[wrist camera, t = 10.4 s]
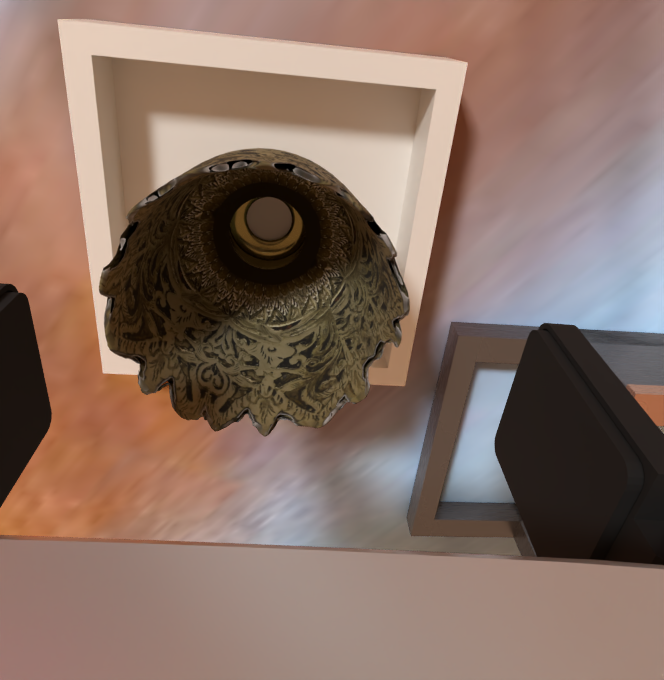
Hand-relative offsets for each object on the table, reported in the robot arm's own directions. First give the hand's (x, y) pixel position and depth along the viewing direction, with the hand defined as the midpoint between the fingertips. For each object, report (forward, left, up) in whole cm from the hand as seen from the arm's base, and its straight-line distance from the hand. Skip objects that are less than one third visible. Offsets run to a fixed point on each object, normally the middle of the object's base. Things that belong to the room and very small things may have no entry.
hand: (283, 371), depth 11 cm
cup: (+1, +1, -11) cm, 11 cm away
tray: (+1, +1, -12) cm, 12 cm away
